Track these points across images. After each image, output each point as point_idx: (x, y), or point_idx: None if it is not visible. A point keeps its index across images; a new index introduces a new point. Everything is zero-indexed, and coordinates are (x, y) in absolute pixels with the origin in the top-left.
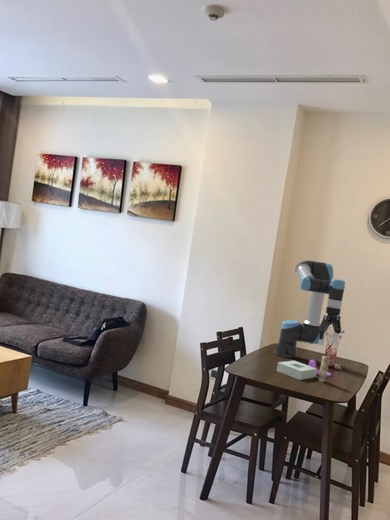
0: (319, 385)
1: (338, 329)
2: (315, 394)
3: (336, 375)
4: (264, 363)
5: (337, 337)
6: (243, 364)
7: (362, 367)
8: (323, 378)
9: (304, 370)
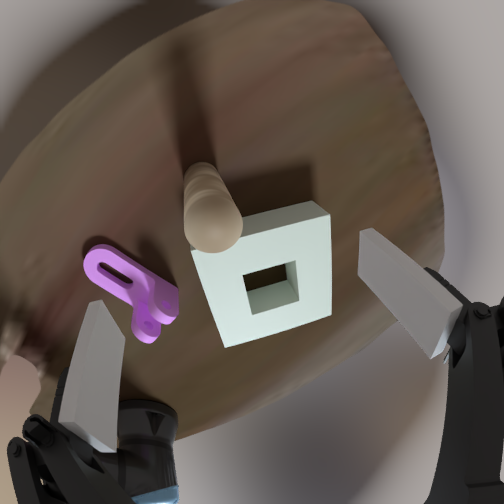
0: (270, 127)
1: (61, 482)
2: (378, 59)
3: (54, 258)
4: (292, 354)
5: (71, 370)
6: (368, 331)
7: None
8: (211, 167)
9: (301, 223)
